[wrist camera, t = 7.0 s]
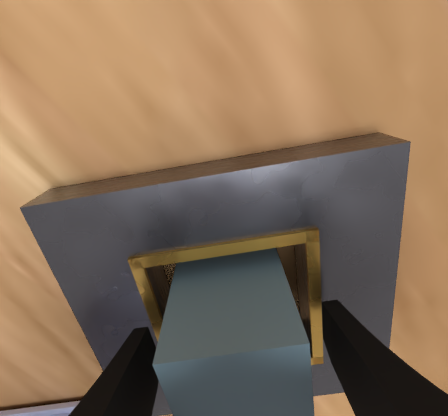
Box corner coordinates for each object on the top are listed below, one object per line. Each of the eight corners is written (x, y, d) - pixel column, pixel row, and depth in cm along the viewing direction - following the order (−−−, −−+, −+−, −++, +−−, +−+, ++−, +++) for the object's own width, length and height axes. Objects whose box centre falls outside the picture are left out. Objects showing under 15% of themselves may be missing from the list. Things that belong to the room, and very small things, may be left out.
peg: (198, 319, 15) (187, 450, 10) (179, 250, 13) (152, 365, 8) (280, 307, 15) (315, 435, 10) (271, 235, 13) (309, 343, 8)
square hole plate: (137, 383, 17) (127, 423, 15) (49, 188, 12) (16, 209, 10) (366, 353, 16) (387, 390, 14) (379, 132, 11) (414, 142, 9)
